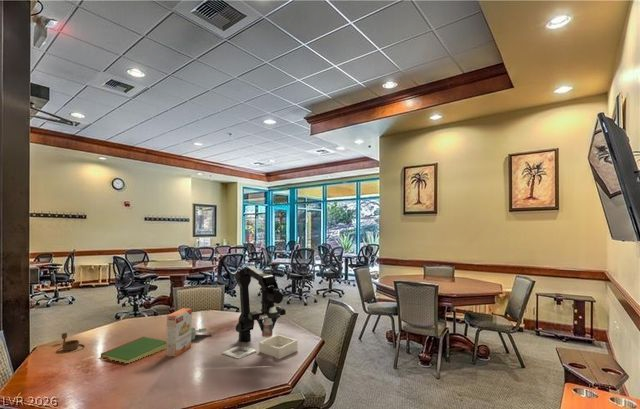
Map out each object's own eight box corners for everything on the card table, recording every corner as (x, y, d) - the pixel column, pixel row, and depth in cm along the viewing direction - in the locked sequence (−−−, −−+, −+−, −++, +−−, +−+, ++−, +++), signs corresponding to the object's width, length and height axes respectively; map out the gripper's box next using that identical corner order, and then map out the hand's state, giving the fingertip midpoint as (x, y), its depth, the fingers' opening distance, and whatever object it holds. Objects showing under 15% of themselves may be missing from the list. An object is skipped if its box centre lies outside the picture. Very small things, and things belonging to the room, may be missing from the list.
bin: (259, 353, 175) (259, 342, 175) (277, 344, 187) (277, 334, 187) (279, 360, 167) (279, 348, 167) (297, 350, 178) (297, 340, 178)
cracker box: (176, 358, 170) (176, 316, 170) (165, 357, 171) (165, 315, 171) (192, 347, 183) (192, 308, 184) (182, 346, 184) (182, 307, 185)
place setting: (45, 358, 170) (45, 347, 170) (61, 344, 189) (61, 333, 189) (85, 354, 176) (86, 342, 176) (97, 340, 195) (97, 329, 195)
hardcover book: (143, 343, 190) (143, 336, 190) (168, 348, 183) (168, 341, 183) (99, 361, 167) (99, 354, 167) (126, 368, 160) (126, 360, 160)
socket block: (222, 355, 172) (222, 352, 172) (240, 348, 182) (240, 344, 182) (238, 362, 165) (238, 358, 165) (256, 353, 175) (256, 350, 175)
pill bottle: (263, 338, 172) (264, 319, 172) (260, 335, 177) (260, 316, 177) (273, 337, 174) (274, 317, 175) (270, 333, 179) (270, 315, 179)
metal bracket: (204, 329, 194) (179, 327, 196) (203, 340, 192) (178, 338, 194) (215, 328, 207) (192, 326, 209) (213, 338, 206) (190, 337, 208)
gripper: (256, 306, 164) (256, 338, 164) (290, 300, 174) (290, 331, 174) (247, 301, 174) (247, 332, 173) (280, 296, 184) (281, 325, 183)
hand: (267, 330), depth 176 cm, fingers closed on pill bottle, 5 cm apart
